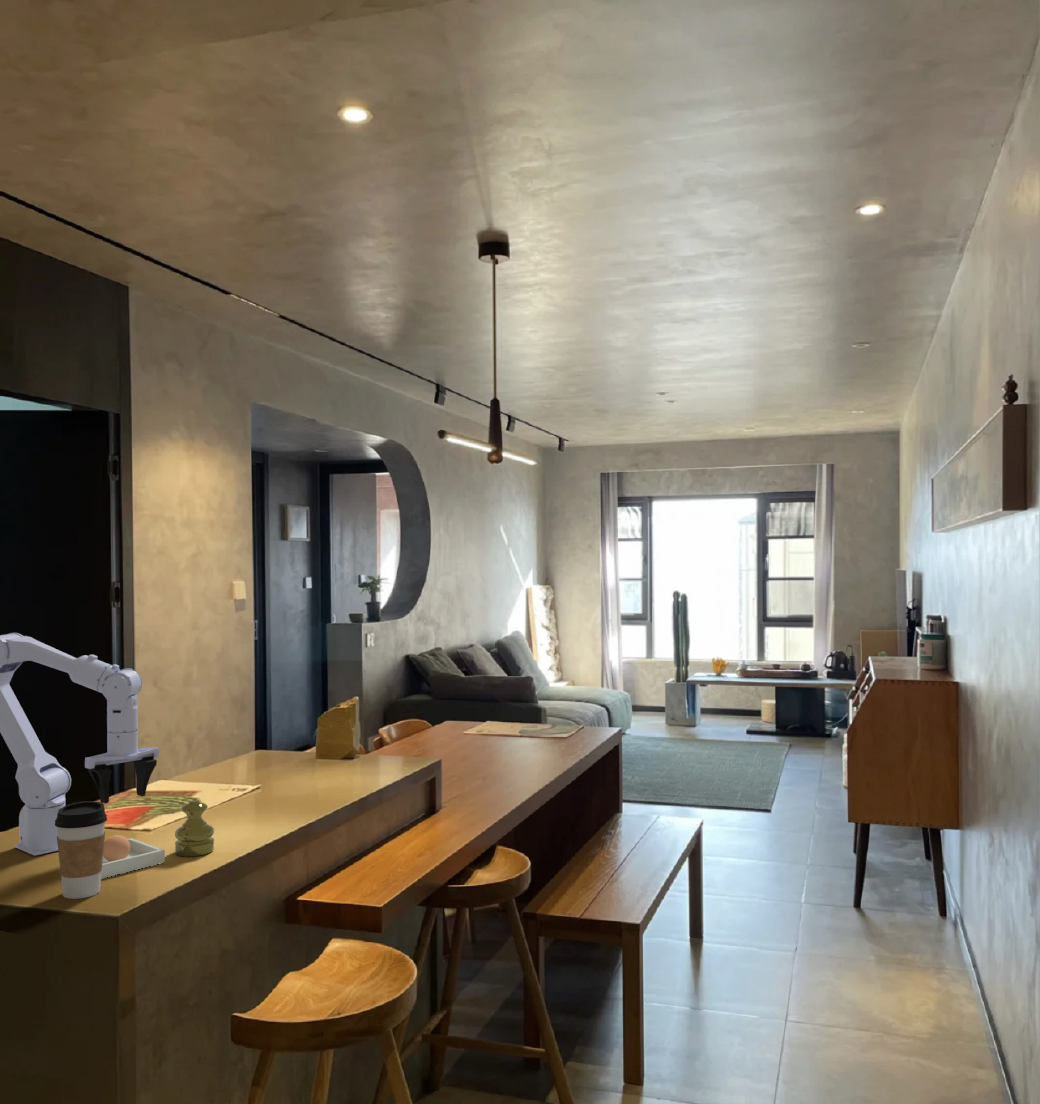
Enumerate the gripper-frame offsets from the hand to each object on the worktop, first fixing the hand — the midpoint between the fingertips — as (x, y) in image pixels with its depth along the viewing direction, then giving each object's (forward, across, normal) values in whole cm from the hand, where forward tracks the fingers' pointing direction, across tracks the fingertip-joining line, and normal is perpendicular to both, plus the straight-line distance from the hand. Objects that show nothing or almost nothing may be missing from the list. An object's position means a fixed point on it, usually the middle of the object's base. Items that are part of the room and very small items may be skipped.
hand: (123, 798), depth 202 cm
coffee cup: (+10, -18, -20) cm, 29 cm away
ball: (+9, -6, -9) cm, 14 cm away
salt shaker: (+10, +8, -13) cm, 18 cm away
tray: (+10, -6, -9) cm, 15 cm away
